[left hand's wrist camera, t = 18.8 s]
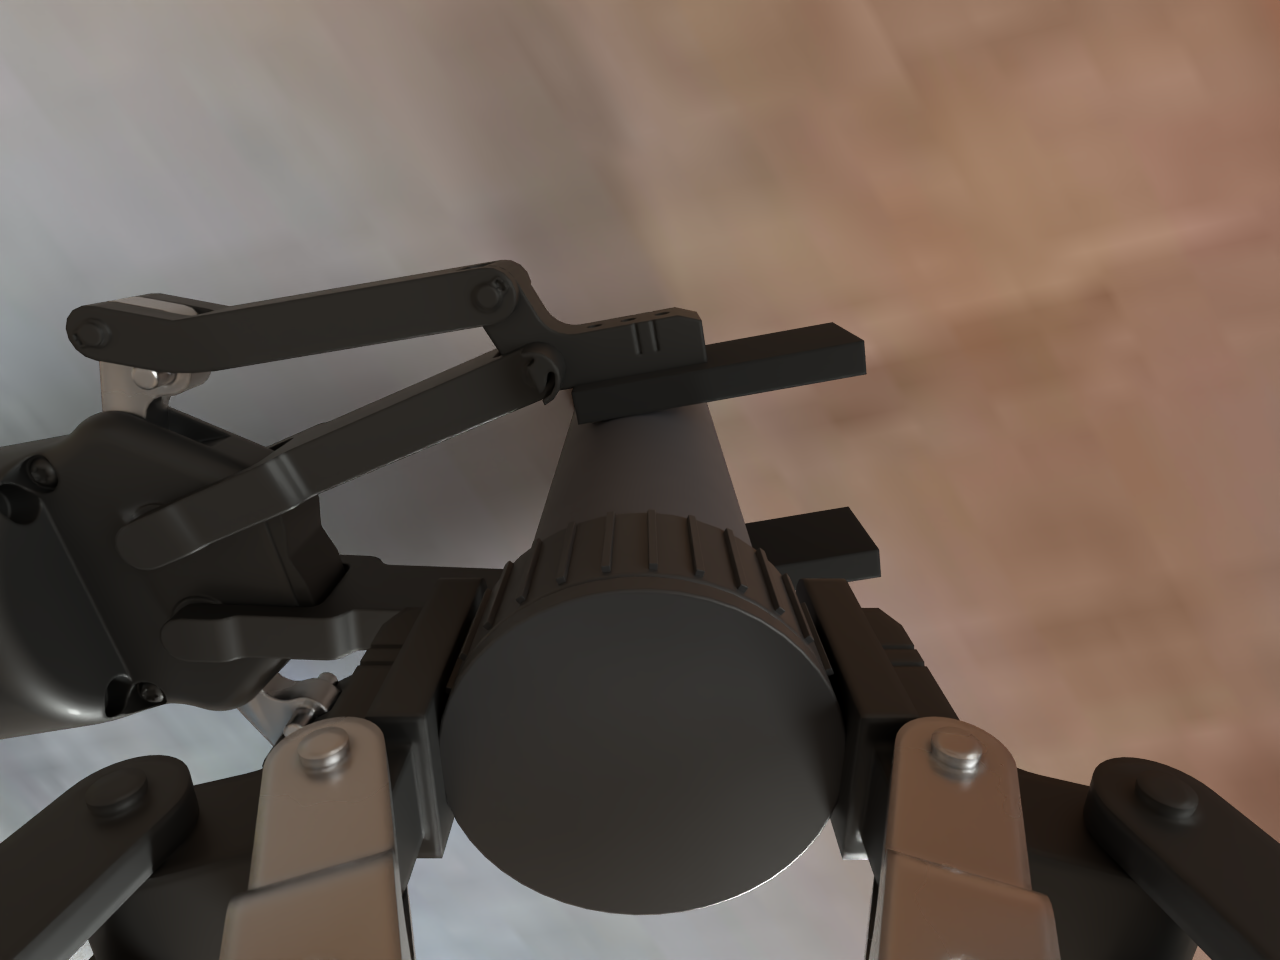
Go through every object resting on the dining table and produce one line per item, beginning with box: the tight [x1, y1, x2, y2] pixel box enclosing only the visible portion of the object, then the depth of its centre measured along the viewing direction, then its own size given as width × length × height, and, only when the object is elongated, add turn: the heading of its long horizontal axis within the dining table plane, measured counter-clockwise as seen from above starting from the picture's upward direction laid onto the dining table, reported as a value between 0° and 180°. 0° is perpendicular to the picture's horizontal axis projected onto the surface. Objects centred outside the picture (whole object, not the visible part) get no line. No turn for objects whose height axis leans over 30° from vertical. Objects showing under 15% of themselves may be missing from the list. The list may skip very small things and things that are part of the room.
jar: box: [534, 402, 752, 547], centre depth 17 cm, size 4×4×16 cm
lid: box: [439, 509, 846, 915], centre depth 10 cm, size 5×5×2 cm
